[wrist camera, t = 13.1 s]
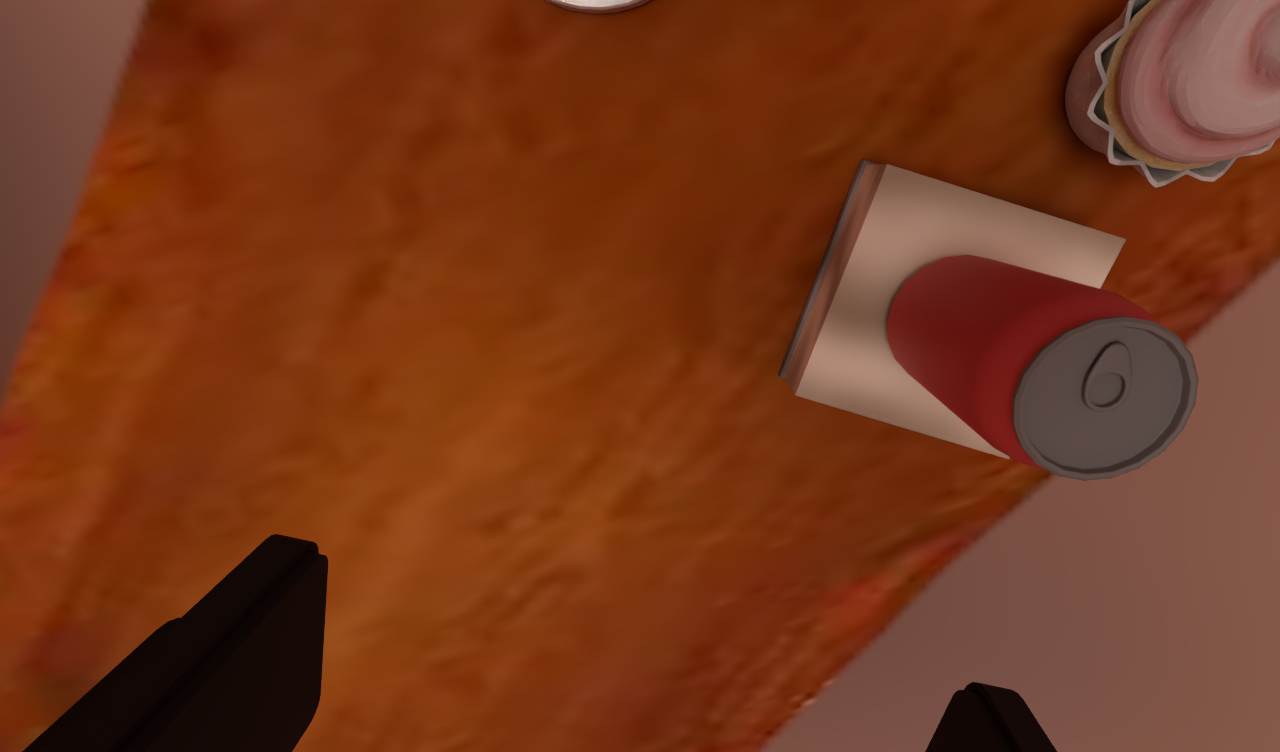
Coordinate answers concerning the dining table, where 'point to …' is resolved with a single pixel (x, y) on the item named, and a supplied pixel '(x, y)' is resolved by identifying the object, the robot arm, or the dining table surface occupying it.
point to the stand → (888, 257)
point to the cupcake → (1180, 87)
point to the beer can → (1044, 365)
